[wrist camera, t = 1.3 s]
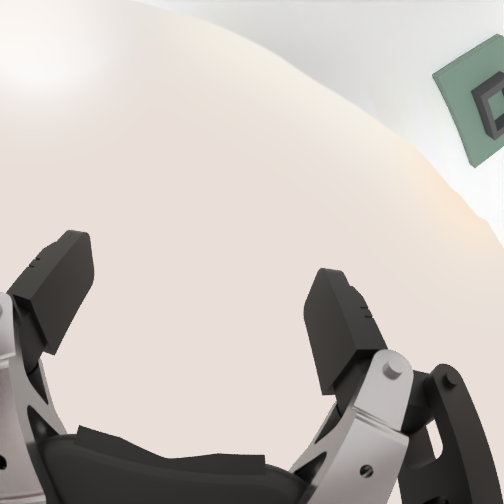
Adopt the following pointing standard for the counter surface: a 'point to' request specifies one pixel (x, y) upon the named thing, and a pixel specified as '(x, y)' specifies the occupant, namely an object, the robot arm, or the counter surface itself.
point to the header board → (477, 98)
